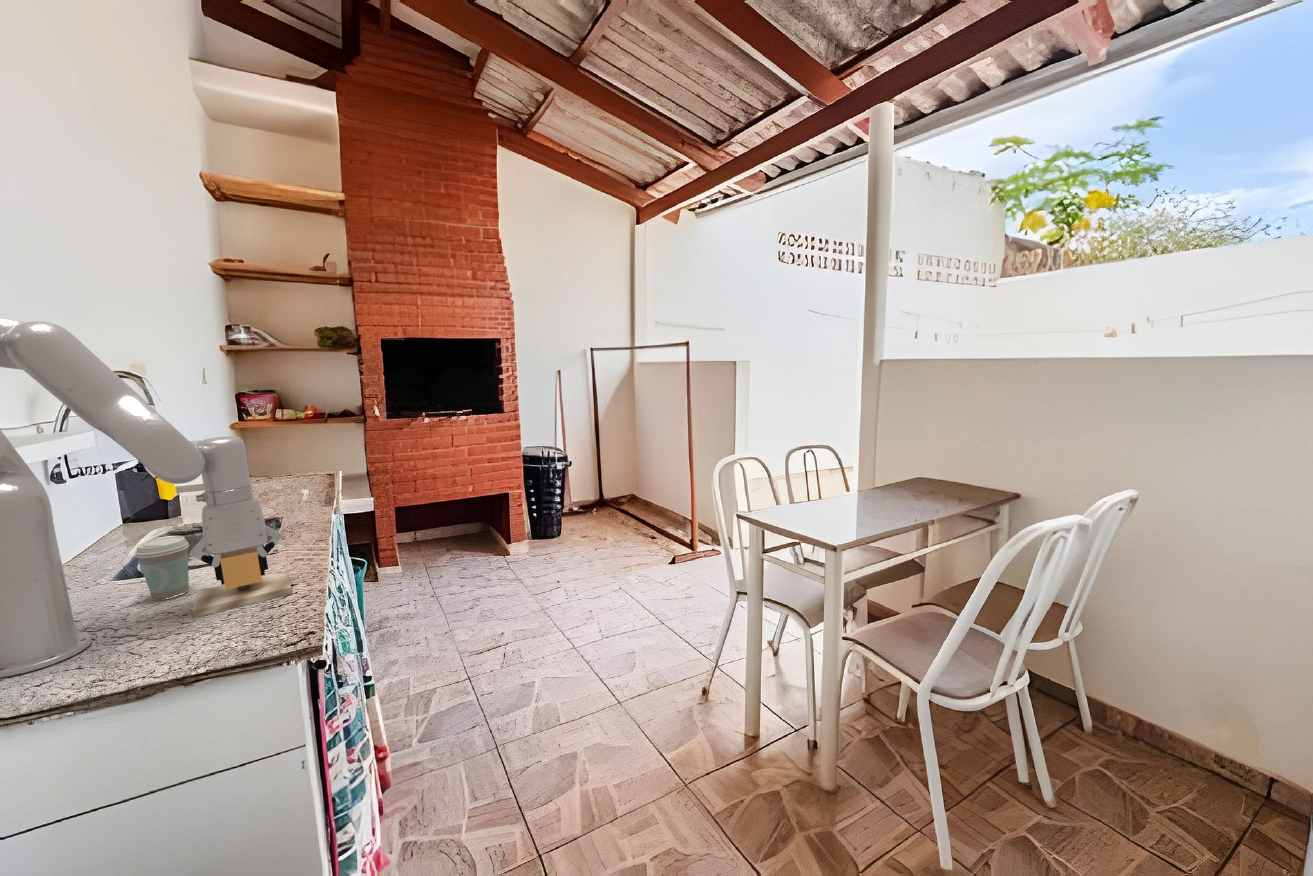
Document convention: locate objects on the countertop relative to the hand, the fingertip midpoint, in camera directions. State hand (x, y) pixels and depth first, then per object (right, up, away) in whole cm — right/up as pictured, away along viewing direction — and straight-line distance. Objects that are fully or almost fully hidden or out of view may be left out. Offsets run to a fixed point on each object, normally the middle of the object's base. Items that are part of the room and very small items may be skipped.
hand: (243, 577), depth 111 cm
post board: (0, -4, 0) cm, 4 cm away
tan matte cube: (0, -1, 0) cm, 1 cm away
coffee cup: (-18, -5, +2) cm, 18 cm away
